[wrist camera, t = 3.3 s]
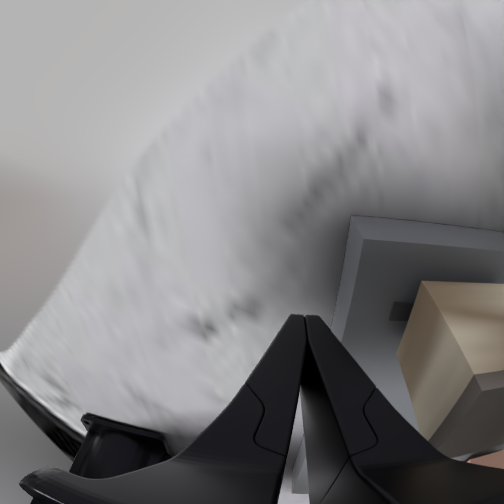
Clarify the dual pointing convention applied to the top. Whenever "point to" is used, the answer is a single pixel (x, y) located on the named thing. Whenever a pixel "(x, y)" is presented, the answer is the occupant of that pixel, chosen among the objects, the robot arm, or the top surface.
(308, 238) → the top surface
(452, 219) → the top surface
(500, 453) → the block
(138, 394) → the top surface
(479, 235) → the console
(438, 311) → the block
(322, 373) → the robot arm
